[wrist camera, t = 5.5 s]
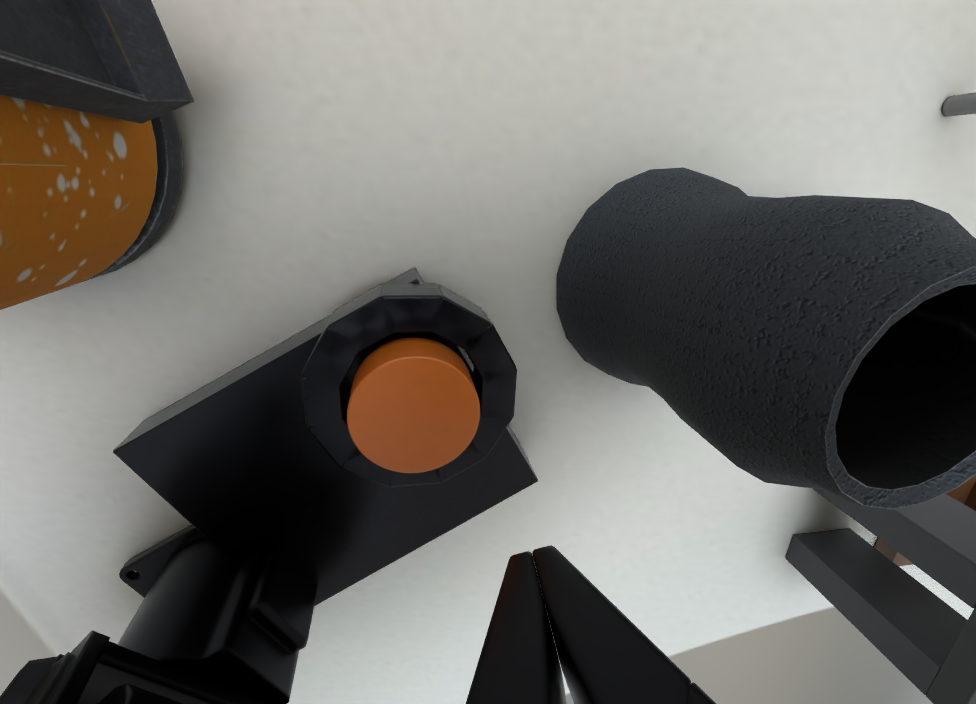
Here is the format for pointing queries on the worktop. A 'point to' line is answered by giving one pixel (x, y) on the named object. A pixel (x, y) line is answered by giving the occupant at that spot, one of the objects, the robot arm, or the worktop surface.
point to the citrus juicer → (960, 105)
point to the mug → (787, 328)
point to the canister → (84, 140)
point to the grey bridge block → (904, 588)
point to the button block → (331, 444)
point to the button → (412, 406)
